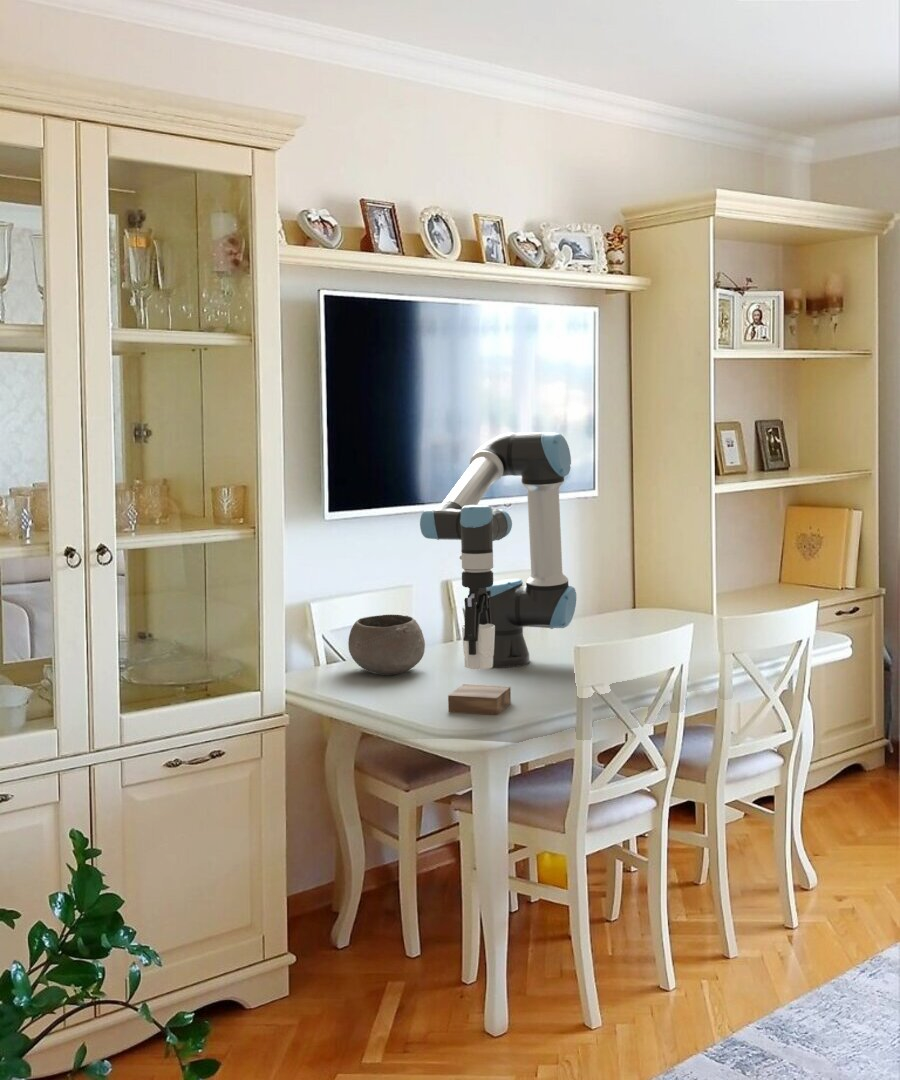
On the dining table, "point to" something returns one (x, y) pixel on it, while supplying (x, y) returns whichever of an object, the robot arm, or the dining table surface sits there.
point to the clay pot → (386, 643)
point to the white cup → (482, 646)
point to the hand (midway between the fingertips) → (479, 664)
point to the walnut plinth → (479, 699)
